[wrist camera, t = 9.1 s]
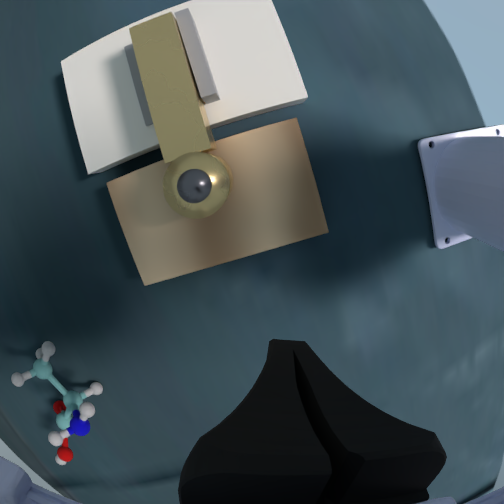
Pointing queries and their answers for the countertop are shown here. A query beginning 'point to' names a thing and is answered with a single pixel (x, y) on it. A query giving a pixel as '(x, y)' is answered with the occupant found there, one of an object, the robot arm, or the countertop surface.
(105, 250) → the countertop surface
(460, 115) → the countertop surface
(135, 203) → the strip
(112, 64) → the door panel
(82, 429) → the molecular model
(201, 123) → the lock arm
